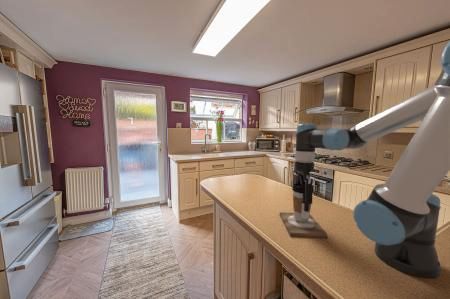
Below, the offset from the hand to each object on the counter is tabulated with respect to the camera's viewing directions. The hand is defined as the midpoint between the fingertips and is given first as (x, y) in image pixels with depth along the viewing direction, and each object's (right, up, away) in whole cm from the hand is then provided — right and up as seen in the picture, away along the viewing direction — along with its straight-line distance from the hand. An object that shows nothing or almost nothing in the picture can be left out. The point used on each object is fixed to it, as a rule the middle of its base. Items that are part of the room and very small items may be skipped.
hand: (301, 213), depth 82 cm
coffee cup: (0, -2, 0) cm, 2 cm away
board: (0, -5, +1) cm, 5 cm away
